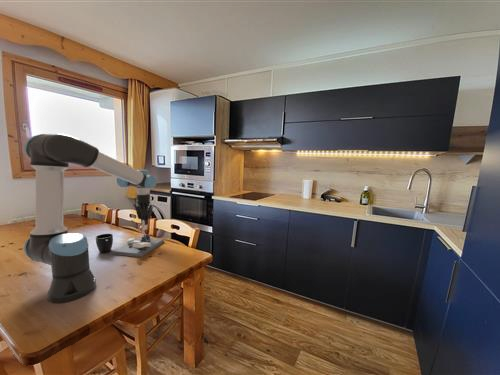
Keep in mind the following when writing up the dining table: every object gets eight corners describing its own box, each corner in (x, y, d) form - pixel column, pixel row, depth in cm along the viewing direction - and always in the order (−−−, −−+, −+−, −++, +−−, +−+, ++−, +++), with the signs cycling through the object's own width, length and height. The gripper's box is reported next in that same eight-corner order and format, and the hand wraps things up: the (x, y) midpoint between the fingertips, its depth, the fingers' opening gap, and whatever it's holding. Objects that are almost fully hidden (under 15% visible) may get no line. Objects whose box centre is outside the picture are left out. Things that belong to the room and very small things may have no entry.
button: (132, 244, 128) (132, 241, 128) (125, 244, 129) (125, 240, 128) (137, 242, 132) (136, 238, 132) (130, 241, 133) (130, 237, 133)
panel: (141, 257, 117) (140, 248, 116) (112, 254, 120) (112, 246, 119) (163, 241, 140) (163, 234, 139) (139, 239, 142) (139, 232, 142)
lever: (146, 239, 135) (141, 226, 134) (142, 240, 135) (137, 227, 135) (149, 237, 137) (144, 225, 137) (145, 238, 138) (140, 226, 137)
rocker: (139, 247, 117) (140, 244, 117) (132, 247, 118) (133, 244, 118) (150, 245, 127) (151, 242, 127) (144, 244, 127) (144, 241, 128)
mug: (98, 257, 115) (97, 241, 114) (95, 250, 124) (94, 235, 123) (116, 253, 121) (115, 238, 119) (112, 247, 129) (111, 232, 128)
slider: (138, 247, 125) (138, 242, 125) (132, 246, 126) (132, 241, 125) (141, 245, 127) (140, 240, 127) (135, 244, 128) (135, 240, 128)
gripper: (156, 193, 135) (157, 228, 138) (138, 192, 137) (139, 226, 140) (148, 195, 128) (150, 232, 131) (130, 194, 130) (131, 230, 133)
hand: (144, 229), depth 136 cm, fingers closed
